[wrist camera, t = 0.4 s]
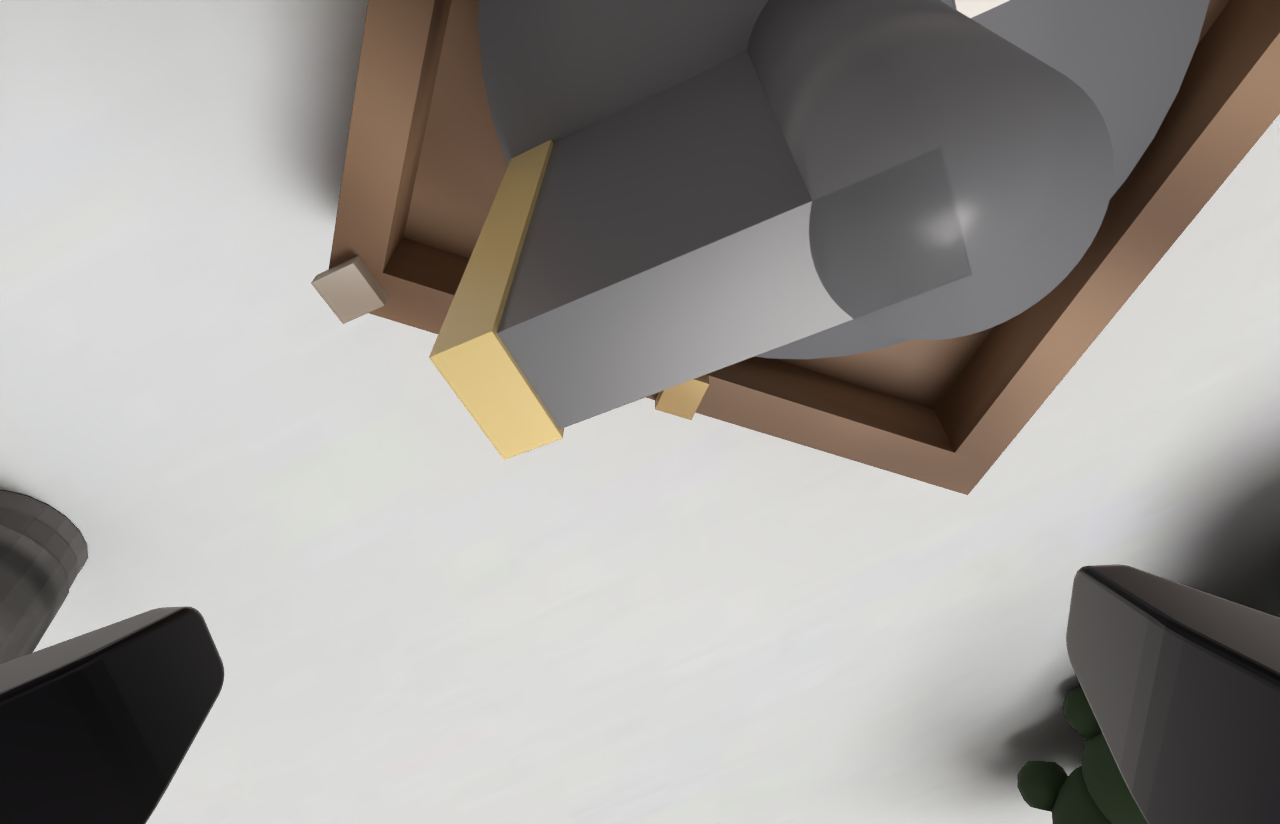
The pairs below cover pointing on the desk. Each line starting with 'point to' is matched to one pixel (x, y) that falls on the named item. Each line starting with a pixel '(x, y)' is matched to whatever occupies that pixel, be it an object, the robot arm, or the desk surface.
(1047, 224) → the knob
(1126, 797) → the toy figurine
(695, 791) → the desk surface
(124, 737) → the robot arm
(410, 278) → the dial base
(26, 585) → the beverage cup
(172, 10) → the desk surface
